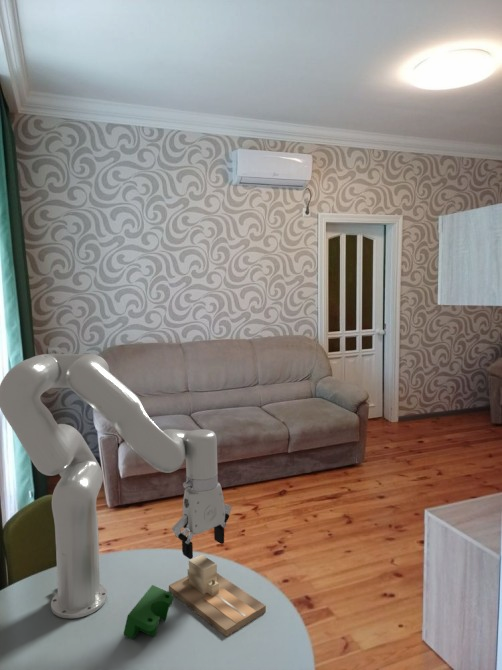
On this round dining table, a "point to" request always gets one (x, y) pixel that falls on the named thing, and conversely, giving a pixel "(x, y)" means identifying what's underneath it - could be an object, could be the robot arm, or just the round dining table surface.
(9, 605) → the round dining table surface
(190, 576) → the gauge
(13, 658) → the round dining table surface
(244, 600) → the board
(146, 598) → the clamp
